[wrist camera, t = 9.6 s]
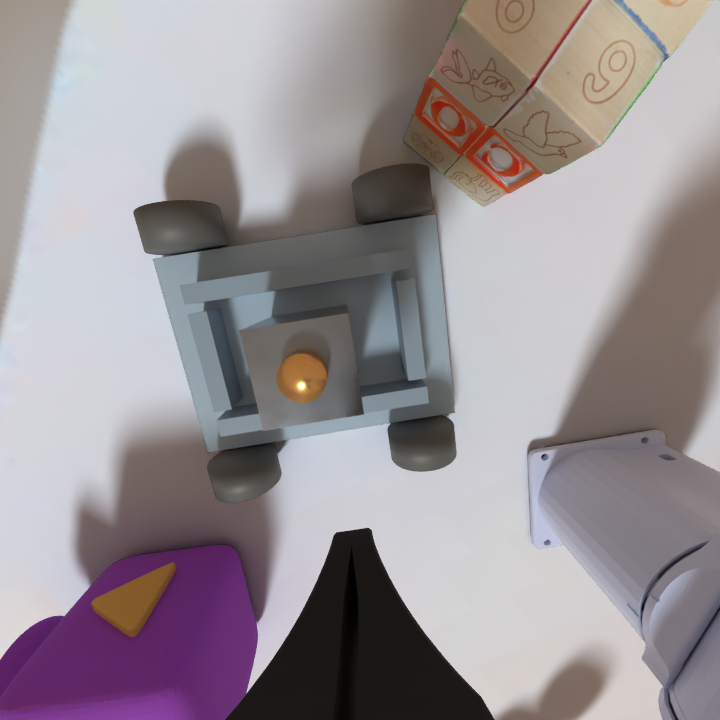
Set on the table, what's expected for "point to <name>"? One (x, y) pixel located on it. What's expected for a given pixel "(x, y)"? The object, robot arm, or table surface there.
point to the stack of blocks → (538, 85)
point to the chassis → (304, 293)
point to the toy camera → (140, 644)
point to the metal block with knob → (303, 367)
